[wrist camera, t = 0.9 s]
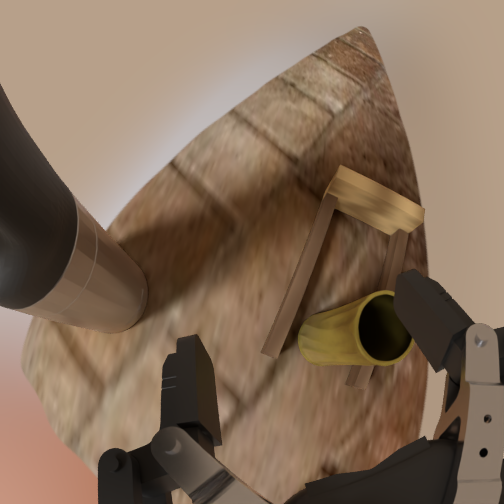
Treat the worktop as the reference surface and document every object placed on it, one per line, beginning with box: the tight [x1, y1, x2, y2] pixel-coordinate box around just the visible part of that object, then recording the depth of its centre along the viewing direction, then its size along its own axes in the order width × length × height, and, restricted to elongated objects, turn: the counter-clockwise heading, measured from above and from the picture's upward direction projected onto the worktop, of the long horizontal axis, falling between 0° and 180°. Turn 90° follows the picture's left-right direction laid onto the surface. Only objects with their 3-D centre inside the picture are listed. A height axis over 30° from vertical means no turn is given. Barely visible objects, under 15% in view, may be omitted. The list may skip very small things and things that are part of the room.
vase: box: [298, 290, 414, 366], centre depth 24 cm, size 6×6×14 cm
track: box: [261, 165, 425, 390], centre depth 31 cm, size 12×22×6 cm, turn 157°
